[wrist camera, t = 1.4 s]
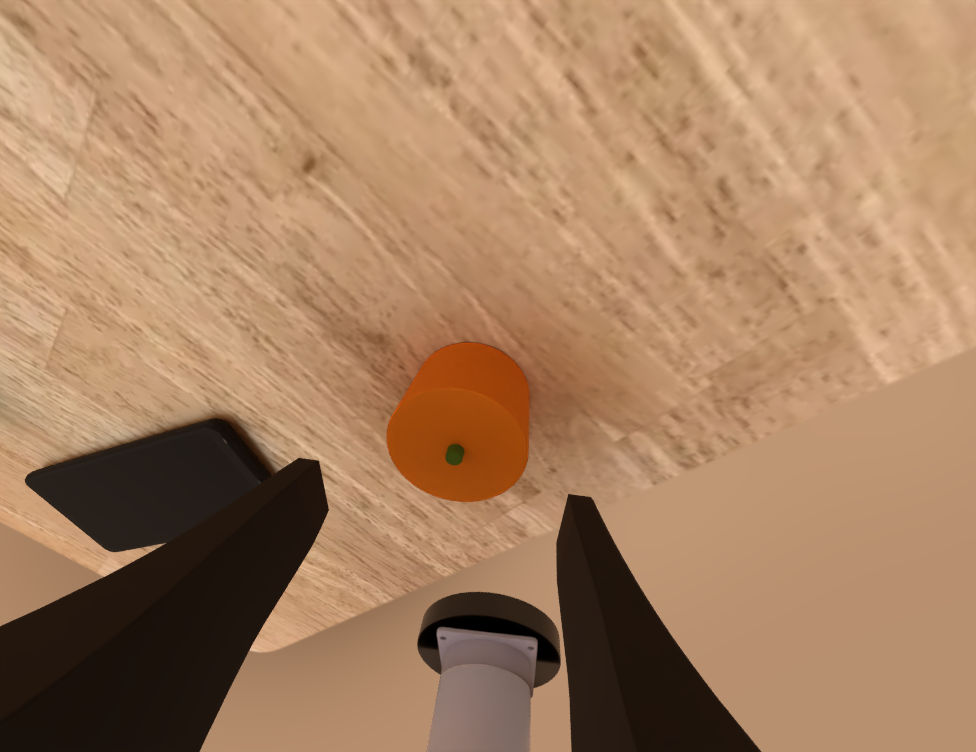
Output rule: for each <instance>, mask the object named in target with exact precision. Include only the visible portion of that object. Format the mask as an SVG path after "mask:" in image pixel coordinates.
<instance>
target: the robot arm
mask: <svg viewBox="0 0 976 752" xmlns="http://www.w3.org/2000/svg"><path fill="white" fill-rule="evenodd" d="M328 511H329V509H328V504H327V499H326V494H325V489H324V484H323V479H322V474H321V469H320V464H319V461H317V460H310V459H302V458H298V459H297V460H295V461H293V462H292V463H290V464H289V465H287V466H286V467H284V468H283V469H281V470H280V471H278V472H277V473H275V474H274V475H272V476H271V477H269V478H268V479H266V480H265V481H263V482H262V483H261V484H259V485H258V486H256V487H255V488H253V489H252V490H250V491H249V492H247V493H246V494H244V495H243V496H241V497H240V498H238V499H237V500H235V501H233V502H232V503H230V504H229V505H227V506H226V507H224V508H223V509H221V510H220V511H218V512H217V513H215V514H213V515H212V516H210V517H209V518H207V519H205V520H204V521H202V522H200V523H199V524H197V525H196V526H194V527H192V528H191V529H189V530H187V531H186V532H184V533H183V534H181V535H179V536H178V537H176V538H174V539H173V540H171V541H169V542H168V543H166V544H164V545H162V546H161V547H159V548H157V549H155V550H154V551H152V552H150V553H148V554H147V555H145V556H143V557H141V558H139V559H137V560H135V561H134V562H132V563H130V564H128V565H126V566H124V567H122V568H121V569H119V570H117V571H115V572H113V573H111V574H109V575H107V576H105V577H103V578H102V579H99V580H97V581H95V582H93V583H91V584H89V585H87V586H85V587H83V588H81V589H79V590H77V591H75V592H73V593H71V594H69V595H67V596H65V597H62V598H60V599H59V600H56V601H54V602H52V603H50V604H48V605H46V606H44V607H42V608H40V609H38V610H35V611H33V612H31V613H29V614H27V615H24V616H22V617H20V618H18V619H15V620H13V621H11V622H9V623H6V624H4V625H2V626H0V752H200V750H201V747H202V745H203V743H204V741H205V739H206V736H207V734H208V732H209V730H210V728H211V726H212V724H213V722H214V720H215V718H216V716H217V714H218V712H219V710H220V707H221V705H222V703H223V701H224V699H225V697H226V695H227V693H228V691H229V689H230V687H231V685H232V683H233V681H234V679H235V677H236V675H237V673H238V671H239V669H240V667H241V665H242V663H243V661H244V660H245V657H246V656H247V654H248V652H249V650H250V648H251V646H252V644H253V642H254V641H255V639H256V637H257V635H258V634H259V632H260V630H261V628H262V627H263V625H264V623H265V622H266V620H267V618H268V617H269V615H270V614H271V612H272V610H273V609H274V607H275V605H276V604H277V602H278V601H279V599H280V597H281V596H282V594H283V593H284V591H285V589H286V588H287V586H288V585H289V583H290V581H291V580H292V578H293V576H294V575H295V573H296V572H297V570H298V568H299V567H300V565H301V563H302V562H303V560H304V559H305V557H306V555H307V554H308V552H309V550H310V549H311V547H312V545H313V543H314V541H315V539H316V537H317V535H318V533H319V531H320V529H321V527H322V524H323V522H324V520H325V518H326V515H327V513H328ZM556 546H557V586H558V595H559V604H560V613H561V621H562V630H563V638H564V647H565V656H566V665H567V673H568V683H569V684H568V685H569V697H570V722H571V745H572V746H571V747H572V752H761V751H760V750H759V748H758V747H757V746H756V745H755V743H754V742H753V741H752V740H751V738H750V737H749V736H748V735H747V734H746V732H745V731H744V730H743V729H742V727H741V726H740V725H739V724H738V723H737V721H736V720H735V719H734V718H733V717H732V715H731V714H730V713H729V712H728V710H727V709H726V708H725V707H724V705H723V704H722V703H721V702H720V701H719V699H718V698H717V697H716V695H715V694H714V693H713V692H712V690H711V689H710V688H709V687H708V685H707V684H706V682H705V681H704V680H703V678H702V677H701V676H700V674H699V673H698V672H697V670H696V669H695V668H694V667H693V665H692V664H691V662H690V661H689V659H688V658H687V657H686V655H685V654H684V653H683V651H682V650H681V648H680V647H679V646H678V644H677V643H676V641H675V640H674V639H673V637H672V636H671V634H670V633H669V632H668V630H667V628H666V627H665V625H664V624H663V622H662V621H661V619H660V618H659V616H658V615H657V613H656V612H655V610H654V609H653V607H652V606H651V604H650V602H649V601H648V599H647V598H646V596H645V595H644V593H643V591H642V590H641V588H640V586H639V585H638V583H637V581H636V580H635V578H634V576H633V574H632V573H631V571H630V569H629V568H628V566H627V564H626V562H625V561H624V559H623V557H622V556H621V554H620V552H619V550H618V548H617V546H616V545H615V543H614V541H613V539H612V537H611V535H610V533H609V531H608V529H607V527H606V525H605V523H604V522H603V519H602V517H601V515H600V513H599V511H598V509H597V507H596V505H595V503H594V501H593V499H592V498H591V497H586V496H579V495H571V494H568V498H567V502H566V506H565V510H564V514H563V518H562V522H561V526H560V530H559V535H558V538H557V545H556ZM437 639H438V646H439V653H440V659H441V666H442V671H441V676H440V681H439V687H438V692H437V698H436V703H435V708H434V713H433V719H432V724H431V729H430V735H429V740H428V745H427V751H426V752H530V698H532V697H533V689H534V678H535V667H536V656H537V645H538V643H537V639H536V638H535V637H533V636H526V635H517V634H508V633H499V632H490V631H481V630H472V629H463V628H454V627H445V626H441V627H439V628H438V629H437Z"/></svg>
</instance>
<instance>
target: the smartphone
mask: <svg viewBox="0 0 976 752" xmlns="http://www.w3.org/2000/svg"><path fill="white" fill-rule="evenodd" d="M271 476H272V475H271V474H270V473H269V472H268V470H267V469H266V468H265V467H264V465H263V464H262V463H261V462H260V461H259V459H258V458H257V457H256V456H255V454H254V453H253V452H252V451H251V449H250V448H249V447H248V446H247V444H246V443H245V442H244V441H243V440H242V438H241V437H240V436H239V435H238V433H237V432H236V431H235V430H234V429H233V427H232V426H231V425H230V424H229V423H228V422H226V421H225V420H222V419H219V418H213V419H209V420H205V421H202V422H198V423H195V424H191V425H188V426H185V427H181V428H178V429H174V430H171V431H167V432H164V433H161V434H157V435H154V436H150V437H147V438H144V439H140V440H137V441H133V442H130V443H126V444H123V445H120V446H116V447H113V448H109V449H106V450H103V451H99V452H96V453H92V454H89V455H85V456H82V457H79V458H75V459H72V460H68V461H65V462H62V463H58V464H55V465H51V466H48V467H45V468H41V469H38V470H35V471H33V472H31V473H29V474H28V475H27V476H26V478H25V482H26V484H27V485H28V486H29V487H30V488H31V489H32V490H33V491H35V492H36V493H37V494H38V495H39V496H41V497H42V498H43V499H44V500H46V501H47V502H48V503H49V504H50V505H52V506H53V507H54V508H55V509H57V510H58V511H59V512H60V513H61V514H63V515H64V516H65V517H66V518H68V519H69V520H70V521H71V522H72V523H74V524H75V525H76V526H77V527H79V528H80V529H81V530H82V531H83V532H85V533H86V534H87V535H88V536H90V537H91V538H92V539H93V540H94V541H96V542H97V543H98V544H99V545H101V546H102V547H103V548H104V549H106V550H108V551H111V552H120V551H125V550H131V549H136V548H141V547H147V546H152V545H157V544H163V543H168V542H169V541H171V540H173V539H174V538H176V537H178V536H179V535H181V534H183V533H184V532H186V531H187V530H189V529H191V528H192V527H194V526H196V525H197V524H199V523H200V522H202V521H204V520H205V519H207V518H209V517H210V516H212V515H213V514H215V513H217V512H218V511H220V510H221V509H223V508H224V507H226V506H227V505H229V504H230V503H232V502H233V501H235V500H237V499H238V498H240V497H241V496H243V495H244V494H246V493H247V492H249V491H250V490H252V489H253V488H255V487H256V486H258V485H259V484H261V483H262V482H263V481H265V480H266V479H268V478H269V477H271Z"/></svg>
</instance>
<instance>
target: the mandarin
mask: <svg viewBox="0 0 976 752" xmlns="http://www.w3.org/2000/svg"><path fill="white" fill-rule="evenodd" d="M387 447H388V450H389V454H390V456H391V459H392V461H393V463H394V464H395V466H396V467H397V469H398V470H399V471H400V473H401V474H402V475H403V476H404V477H405V478H406V479H407V480H408V481H410V482H411V483H412V484H413V485H415V486H416V487H418V488H419V489H421V490H423V491H425V492H426V493H429V494H431V495H433V496H436V497H439V498H442V499H446V500H451V501H459V502H473V501H481V500H486V499H489V498H493V497H495V496H497V495H500V494H501V493H503V492H505V491H506V490H508V489H509V488H510V487H512V486H513V485H514V484H515V483H516V482H517V481H518V479H519V478H520V476H521V475H522V473H523V471H524V469H525V467H526V464H527V461H528V450H529V388H528V384H527V381H526V378H525V376H524V374H523V372H522V371H521V369H520V368H519V366H518V365H517V364H516V363H515V362H514V361H513V360H512V359H511V358H510V357H508V356H507V355H506V354H504V353H503V352H501V351H499V350H497V349H495V348H493V347H490V346H487V345H484V344H479V343H457V344H452V345H449V346H446V347H444V348H442V349H440V350H438V351H436V352H435V353H433V354H432V355H431V356H430V357H429V358H428V359H427V360H426V361H425V362H424V364H423V365H422V367H421V369H420V370H419V372H418V374H417V375H416V377H415V378H414V380H413V382H412V383H411V385H410V387H409V388H408V390H407V392H406V393H405V395H404V397H403V398H402V400H401V402H400V403H399V405H398V406H397V408H396V410H395V411H394V413H393V415H392V416H391V419H390V421H389V424H388V428H387Z"/></svg>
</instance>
